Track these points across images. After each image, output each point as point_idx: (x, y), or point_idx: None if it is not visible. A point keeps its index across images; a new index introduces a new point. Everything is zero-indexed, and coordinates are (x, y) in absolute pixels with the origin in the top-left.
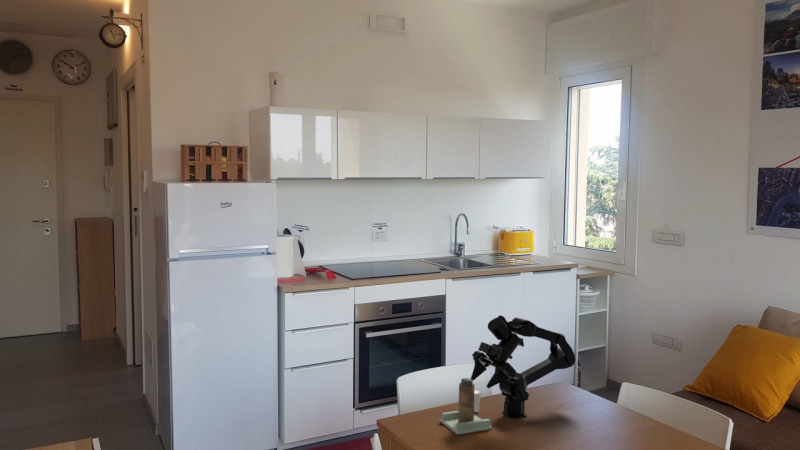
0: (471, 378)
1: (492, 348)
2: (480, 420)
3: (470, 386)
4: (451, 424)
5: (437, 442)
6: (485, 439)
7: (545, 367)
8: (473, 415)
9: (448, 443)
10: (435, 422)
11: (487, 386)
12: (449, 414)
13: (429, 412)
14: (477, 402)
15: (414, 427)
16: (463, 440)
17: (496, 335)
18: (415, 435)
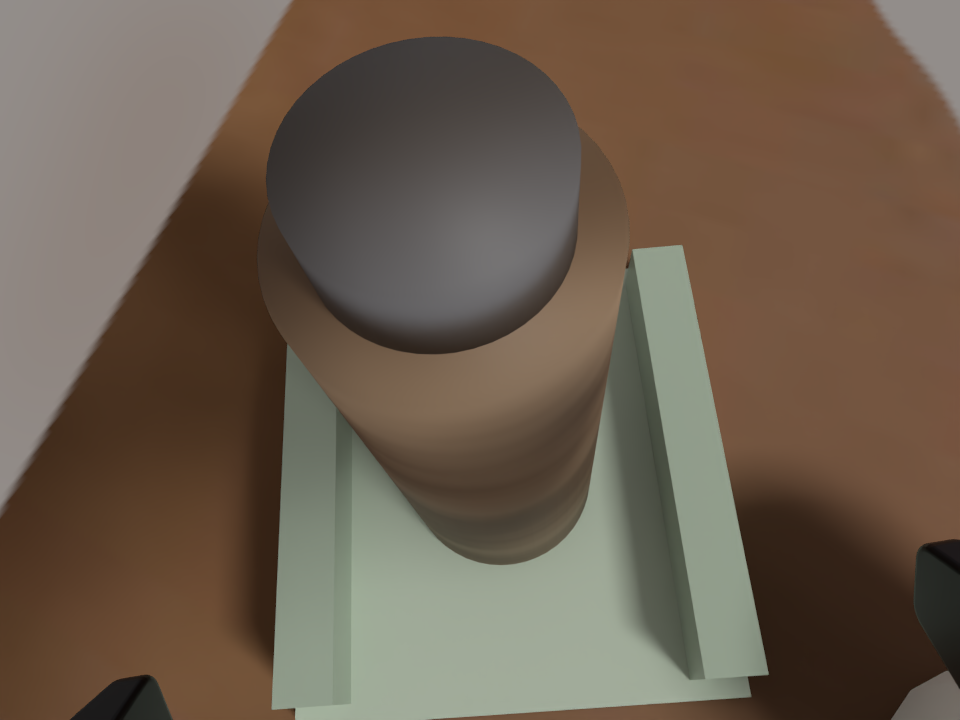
0: (935, 555)
1: None
2: (315, 571)
3: (291, 257)
4: None
5: (242, 120)
6: (97, 513)
7: None
8: (423, 518)
9: (186, 184)
10: (660, 235)
11: (115, 695)
12: (642, 318)
13: (954, 268)
14: None
15: (590, 56)
16: (179, 312)
17: None
18: (431, 25)
